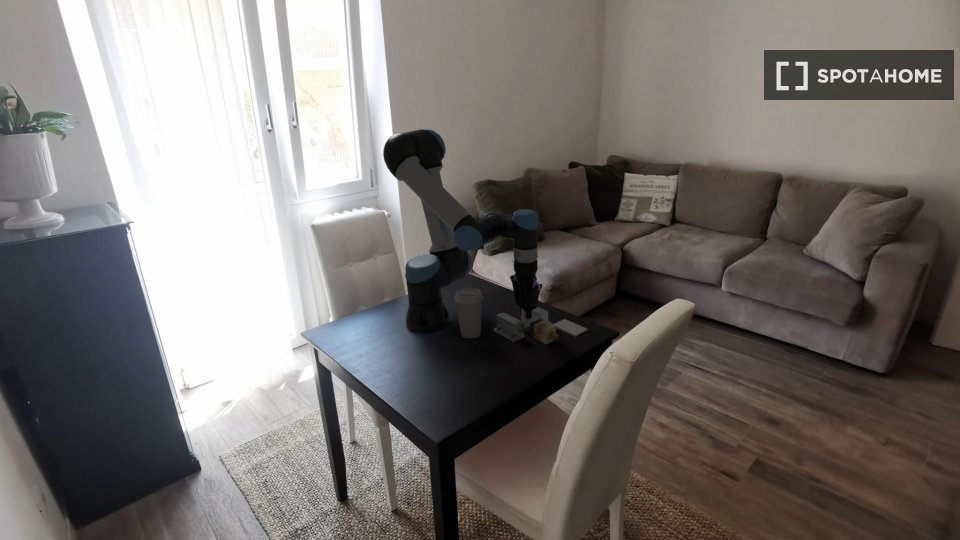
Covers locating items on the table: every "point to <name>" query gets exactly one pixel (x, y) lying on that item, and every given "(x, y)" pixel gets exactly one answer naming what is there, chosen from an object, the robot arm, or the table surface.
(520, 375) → the table surface
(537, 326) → the tan piece
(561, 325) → the mat
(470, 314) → the coffee cup
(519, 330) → the dark grey boxy pieces
